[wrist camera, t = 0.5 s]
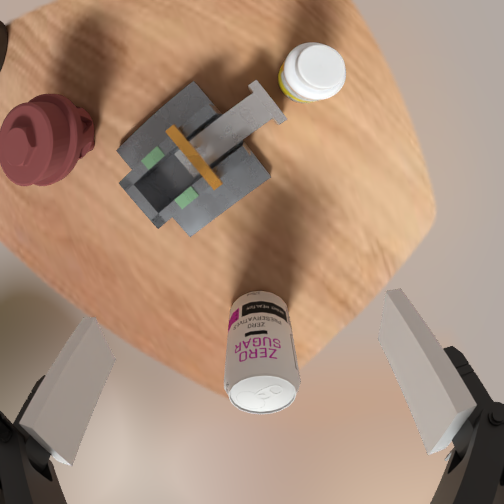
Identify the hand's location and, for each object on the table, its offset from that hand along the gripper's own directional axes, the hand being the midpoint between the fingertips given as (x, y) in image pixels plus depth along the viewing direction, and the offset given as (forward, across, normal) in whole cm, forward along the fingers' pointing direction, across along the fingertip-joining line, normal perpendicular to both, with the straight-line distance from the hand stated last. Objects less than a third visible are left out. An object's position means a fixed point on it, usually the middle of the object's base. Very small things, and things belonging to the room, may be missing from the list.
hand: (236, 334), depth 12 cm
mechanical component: (+24, -20, +12) cm, 34 cm away
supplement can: (+25, 0, -17) cm, 30 cm away
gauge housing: (+24, -6, +5) cm, 26 cm away
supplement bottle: (+25, +8, +13) cm, 29 cm away
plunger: (+24, -1, +8) cm, 25 cm away
